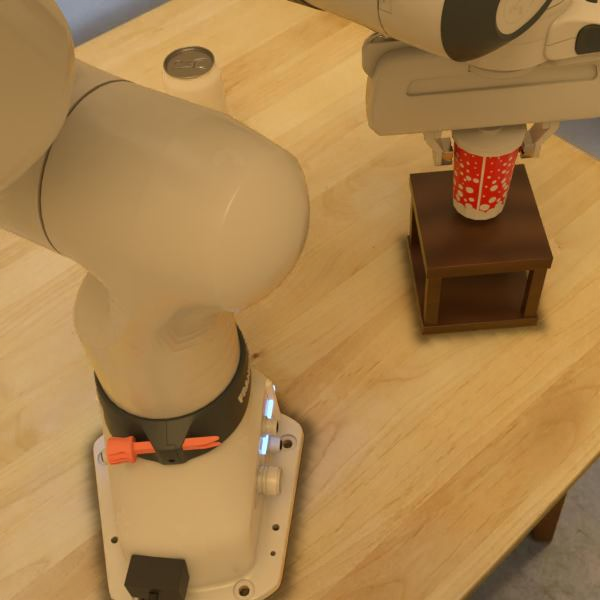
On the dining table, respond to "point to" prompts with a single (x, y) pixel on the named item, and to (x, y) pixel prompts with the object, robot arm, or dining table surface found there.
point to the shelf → (475, 257)
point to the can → (195, 77)
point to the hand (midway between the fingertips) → (485, 157)
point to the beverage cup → (484, 168)
